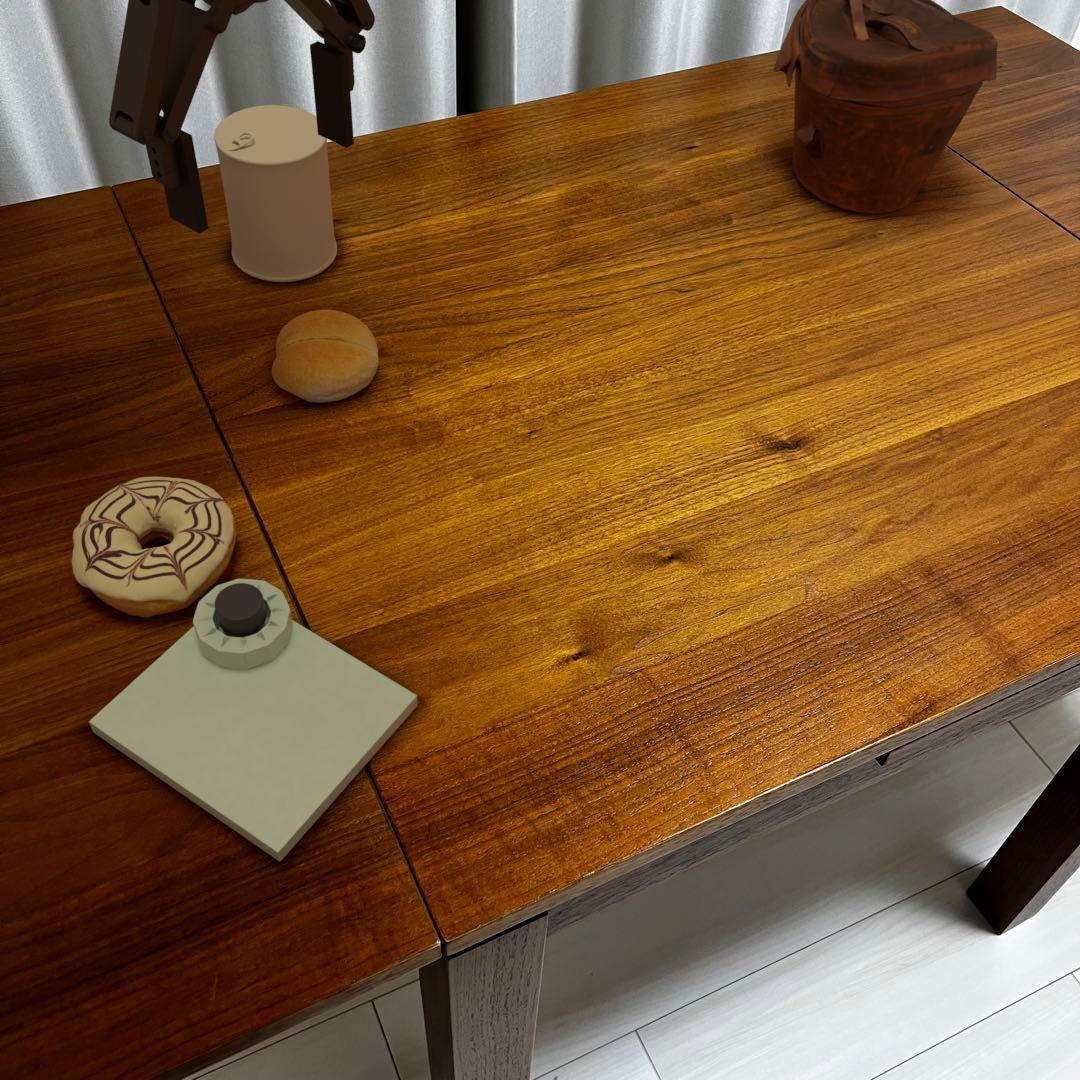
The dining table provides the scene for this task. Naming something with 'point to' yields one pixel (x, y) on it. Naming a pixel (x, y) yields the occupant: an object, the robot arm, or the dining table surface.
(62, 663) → the dining table surface
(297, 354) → the bread roll
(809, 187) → the case
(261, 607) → the button
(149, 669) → the scale
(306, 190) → the can
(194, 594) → the decorated donut
